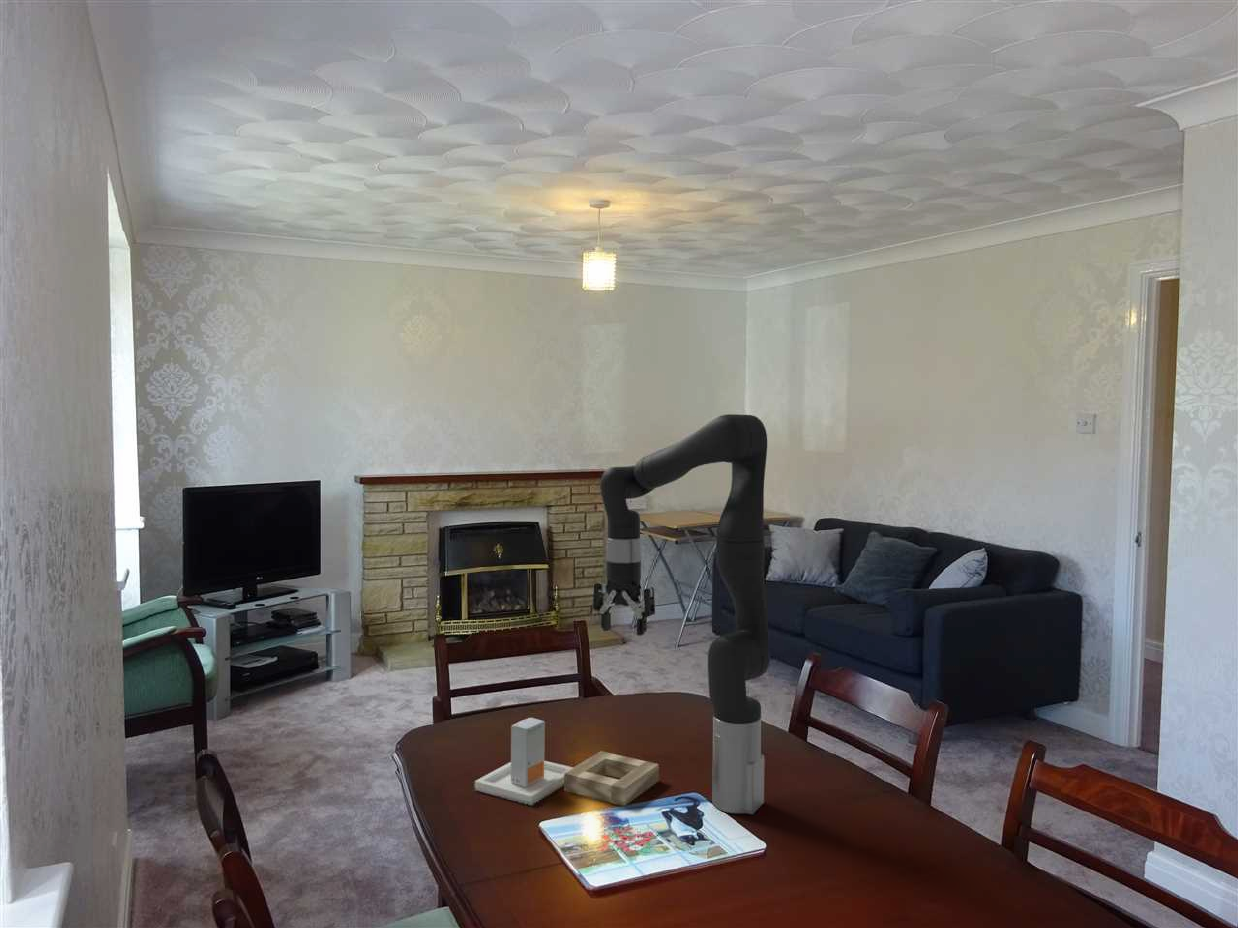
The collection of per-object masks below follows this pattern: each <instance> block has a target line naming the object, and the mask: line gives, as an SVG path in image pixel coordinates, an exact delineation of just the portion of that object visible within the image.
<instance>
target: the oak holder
mask: <svg viewBox="0 0 1238 928" xmlns="http://www.w3.org/2000/svg"><path fill="white" fill-rule="evenodd" d="M659 765H660V764H659V763H655V762H652V761H648V760H647V761H646V760H642V759H638V758H633V757H629V756H624V755H619V754H616V753H611V752H607V751H603V750H600V751H599V752H596V753H595V754H593V755H592V756H590V757H589V758H586V759H585V760H584V761H582V762H580V763H579V764H577V765H575V766H574V767H573V768H572V769H571V770H569V771H567V772H566V773H564V785H563V791H564V792H568V793H572V794H575V795H580V796H583V797H587V798H591V799H596V800H599V801H602V802H606V803H610V804H615V805H617V806H622V807H626V806H627V805H628V804H629V803H631V802H633V801H634V800H635V799H637V797H639V796H640V795H642V794H643V793H645V792H646V791H647V790H649V789H650V788H651V787H652V786H654V785H655V784H657V783H658V782H659V780H660V779H659V778H660V777H659V775H660V773H659V772H660V771H659V769H660V768H659V767H660V766H659ZM617 778H618V779H617Z"/></svg>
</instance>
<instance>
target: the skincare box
mask: <svg viewBox="0 0 1238 928" xmlns="http://www.w3.org/2000/svg"><path fill="white" fill-rule="evenodd" d="M545 727H546V722H545V721H544V720H541V719H537V718H534V717H528V718H526V719H522V720H520V721H518V722H516V723H514V724H512V725H511V726H510V762H511V783H514V784H517V785H520V786H523V787H527V786H529V785H531V784H533V783H535V782H537V781H539V780H541V779H543V778H544V761H545V746H546V745H545V742H546V741H545V740H546V738H545V735H546V734H545V732H546V730H545V729H546V728H545Z"/></svg>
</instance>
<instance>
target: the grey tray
mask: <svg viewBox="0 0 1238 928" xmlns="http://www.w3.org/2000/svg"><path fill="white" fill-rule="evenodd" d="M572 768H574V767H572V766H568V765H565V764H560V763H556V762H551V761H547V760H544V778H543V779H541V780H539V781H537V782H535V783H533V784H531V785H529V786H527V787H523V786H520V785H517V784H514V783H511V761H510V762H507V763H505V764H504V765H503V766H500V767H499V768H496V769H495V770H493V771H491V772H489V773H488V774H485V775H484V776H482V777H480V778H479V779H476V780H474V791H477V792H480V793H485V794H487V795H491V796H495V797H498V796H499V798H503V799H505V798H506V800H509V801H513V802H516V801H517V803H519V804H523V803H524V804H523V805H527V804H528V806H533V805H535V804H537V803H538V802H540V801H541V800H543V799H545V798H546V797H548V796H549V795H551V794H552V793H554V792H555V791H557V790H559V789H560V788H562V787H564V773H566V772H567V771H569V770H571V769H572ZM545 796H546V797H545ZM542 798H543V799H542ZM539 800H540V801H539ZM536 802H537V803H536ZM534 803H535V804H534Z"/></svg>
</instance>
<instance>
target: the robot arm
mask: <svg viewBox="0 0 1238 928" xmlns="http://www.w3.org/2000/svg"><path fill="white" fill-rule="evenodd" d="M767 433H768V432H767V430H766V427H765V425H764V422H762V420H761V419H760V418H758V417H757V416H755V415H753V414H729V413H728V414H722V415H719V416H717V417H716V418H714V419H712V420H711V421H709V422H707V423H706V424H705V425H703V426H702V427H701V428H699V429H698V430H696V431H695V432H693V433H691V434H690V435H688V436H687V437H685V438H684V439H681V440H679V441H678V442H676V443H674V444H672V445H669V446H667V447H664V448H662V449H660V450H659V449H658V450H657V451H655V452H653V453H651V454H648V455H645V456H643V457H641V458H640V459H639V460H638V461H637V462H636V463H635V465H629V466H612V467H609V468H607V469H606V470H604V472H603V474H602V476H601V478H600V483H599V484H600V486H599V489H600V494H601V498H602V499H601V500H602V502H603V507H604V511H605V514H606V517H607V542H606V551H605V552H606V555H605V557H606V558H605V559H606V568H605V569H606V582H607V583H605V582H603V581H598V582H597V583H594V584H593V594H592V595H593V596H592V597H593V599H592V609H593V610H594V611H597V612H599V613H600V626H601V629H602V630H603V632H607V631H610V630H611V627H612V625H611V624H612V622H611V621H612V615H611V612H610V611H611V610H612V608H613V607H614V606H623V607H629V608H630V609H631V611H632V612H633V613H634V614H635V615H636V616H637V618H636V636H639V637H640V636H644V635H645V633H646V632H647V630H648V629H647V628H648V627H647V626H648V625H647V621H648V617H649V618H650V617H652V616H653V615H655V614H656V605H655V604H656V603H655V589H654V586H653V587H652V586H651V587H642V585H641V581H642V546H641V517H640V513H638V512H637V511H635V510H633V509H629V507H628V503H627V500H630V499H637V498H641V497H644V496H646V495H647V494H649V493H650V492H652V491H653V490H655V489H657V488H659V487H663V486H666V485H667V484H668V485H669V484H671V483H673V482H676V481H677V480H679V479H681V478H683V477H684V476H685V475H687V474H688V473H689V472H690V471H691V470H693V469H696V468H697V467H700V466H705V465H709V464H717V463H731V485H730V486H731V488H730V493H729V496H728V498H727V501H726V503H725V506H724V507H723V509H722V513H721V515H720V518H719V520H718V523H717V526H716V527H717V528H716V532H715V533H716V534H715V536H716V537H715V545H716V546H715V547H716V548H715V549H716V550H715V551H716V552H715V554H716V556H715V557H716V558H715V559H716V566H717V569H718V572H719V575H720V577H721V579H722V581H723V583H724V585H725V587H726V588H727V590H728V592H729V594H730V597H731V599H732V601H733V605H734V606H733V607H734V612H735V613H734V614H735V632H734V633H729V634H724V635H720V636H718V637H716V638H715V639H714V640H713V641H712V642H711V643H710V645H709V649H708V655H707V675H708V676H707V677H708V695H709V700H710V703H711V707H712V767H711V768H712V771H711V772H712V776H711V782H712V783H711V786H712V787H711V788H712V790H711V792H712V793H711V794H712V795H711V799H712V800H711V801H712V802H711V803H712V805H713V806H714V807H715V808H716V809H718V810H720V811H722V812H726V813H731V814H749V815H753V814H755V812H756V811H758V809H760V807H761V806H762V805H763V804H764V803H765V755H764V754H762V751H761V750H762V749H761V748H762V747H761V746H762V744H761V743H762V705H761V703H760V701H759V700H758V699H756V698H754V697H752V696H748V695H747V688H746V686H747V685H746V681H750V680H751V681H752V680H754V679H757V678H760V677H761V676H763V675H764V674H766V672H767V671H768V669H769V666H770V661H771V643H770V635H769V628H768V625H769V624H768V619H767V609H766V608H767V607H766V606H767V605H766V588H765V587H766V585H765V558H766V557H765V530H764V529H765V528H764V524H765V523H764V518H765V517H764V511H765V510H764V509H765V505H764V504H765V503H764V501H765V495H764V494H765V476H766V468H767V467H766V465H767V456H768V455H767V454H768V434H767ZM605 592H606V593H607V595H608V597H607V598H606V599H605V598H604V597H605ZM640 595H642V598H643V601H642V599H641V597H640ZM643 602H644V603H643Z"/></svg>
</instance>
